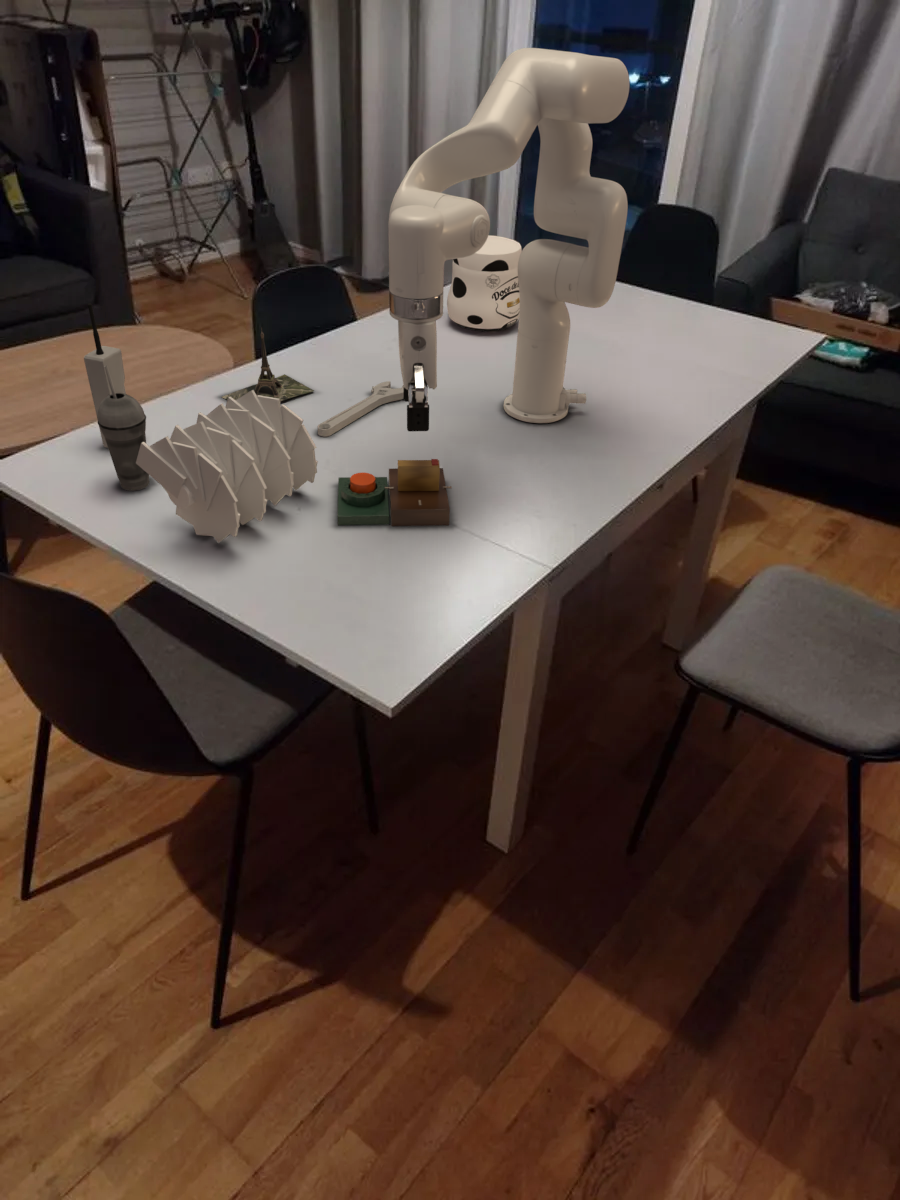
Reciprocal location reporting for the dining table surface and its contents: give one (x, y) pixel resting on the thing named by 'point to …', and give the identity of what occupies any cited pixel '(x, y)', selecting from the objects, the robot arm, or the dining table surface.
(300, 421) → the spiral staircase
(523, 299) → the robot arm
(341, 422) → the adjustable wrench
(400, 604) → the dining table surface
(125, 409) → the beverage cup
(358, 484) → the button
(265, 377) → the eiffel tower figurine
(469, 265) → the milk container
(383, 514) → the button housing
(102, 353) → the vintage mobile phone
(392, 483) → the control panel
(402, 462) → the yellow box red tab
